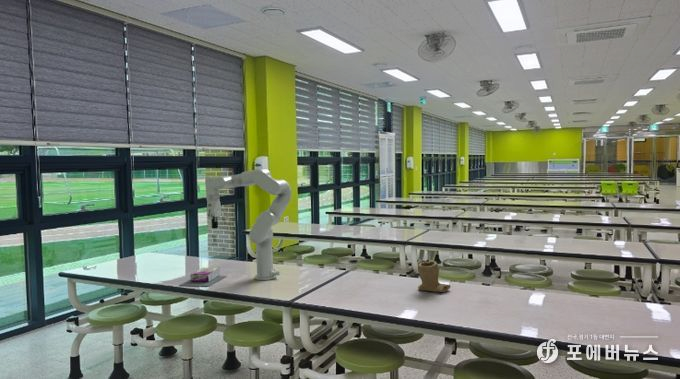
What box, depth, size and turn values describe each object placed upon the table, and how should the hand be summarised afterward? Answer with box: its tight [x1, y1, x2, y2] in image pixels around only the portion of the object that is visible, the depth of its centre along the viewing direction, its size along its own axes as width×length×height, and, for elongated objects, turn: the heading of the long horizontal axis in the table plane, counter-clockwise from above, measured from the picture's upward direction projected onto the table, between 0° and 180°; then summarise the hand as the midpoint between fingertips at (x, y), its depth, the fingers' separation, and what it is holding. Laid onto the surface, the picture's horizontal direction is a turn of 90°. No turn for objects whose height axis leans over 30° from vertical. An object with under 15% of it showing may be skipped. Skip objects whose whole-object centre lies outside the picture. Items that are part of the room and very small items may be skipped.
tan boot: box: [417, 260, 451, 293], centre depth 228 cm, size 15×12×15 cm
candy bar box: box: [190, 267, 221, 282], centre depth 266 cm, size 11×5×16 cm
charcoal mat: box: [179, 275, 227, 288], centre depth 262 cm, size 18×22×1 cm
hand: (215, 228), depth 271 cm, fingers closed
